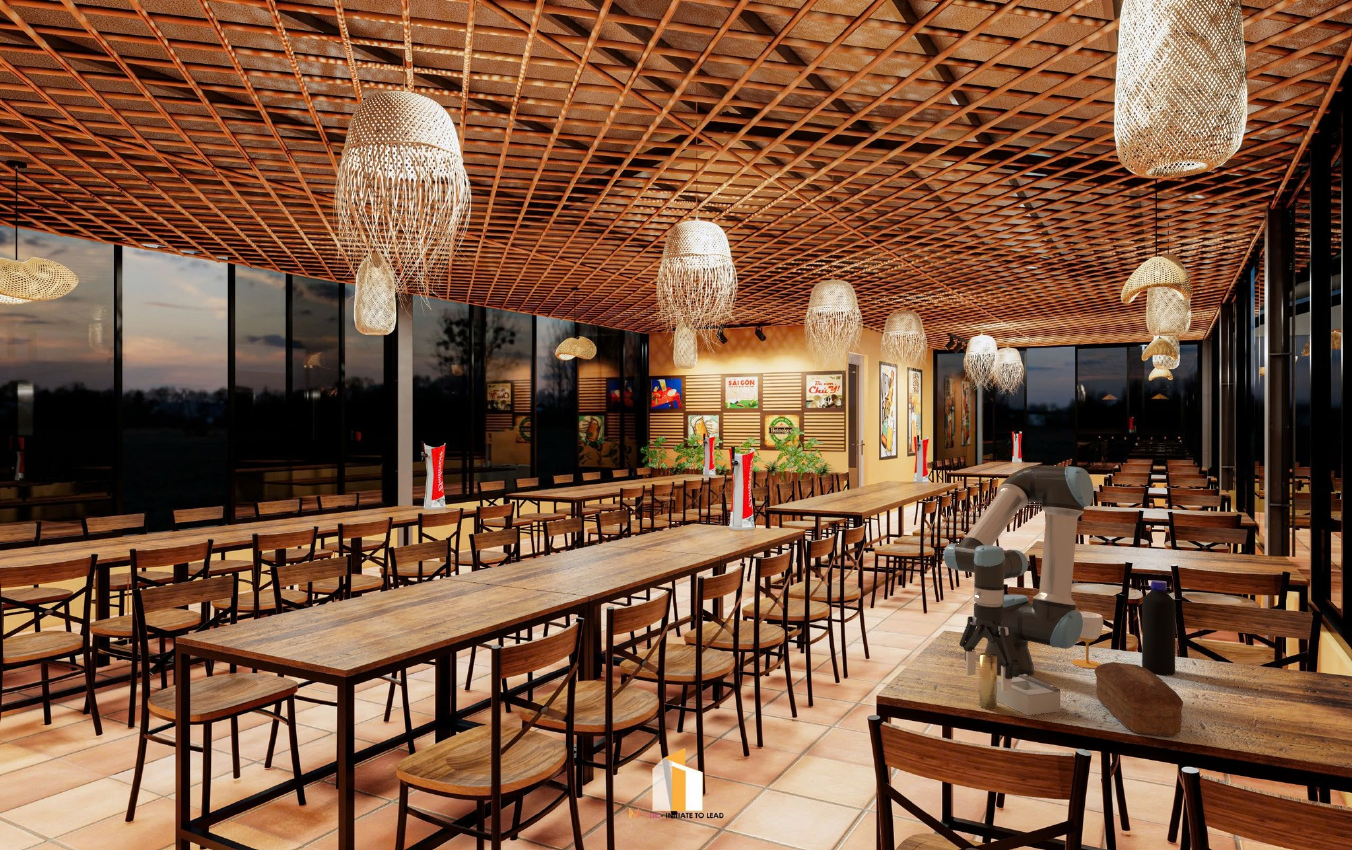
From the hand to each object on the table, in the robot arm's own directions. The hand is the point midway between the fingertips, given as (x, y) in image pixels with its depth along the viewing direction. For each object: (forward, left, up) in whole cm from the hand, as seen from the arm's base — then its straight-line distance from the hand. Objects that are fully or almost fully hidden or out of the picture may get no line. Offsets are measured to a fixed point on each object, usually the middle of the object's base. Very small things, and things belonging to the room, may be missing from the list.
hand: (987, 682), depth 209 cm
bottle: (-74, -10, -7) cm, 75 cm away
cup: (-58, -22, -7) cm, 63 cm away
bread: (-32, +18, -7) cm, 37 cm away
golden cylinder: (0, 0, -7) cm, 7 cm away
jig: (-11, +2, -7) cm, 13 cm away
